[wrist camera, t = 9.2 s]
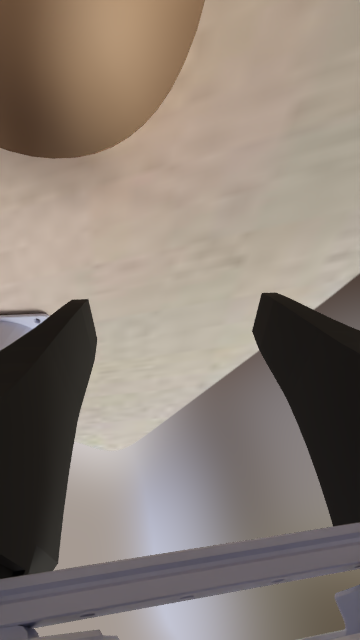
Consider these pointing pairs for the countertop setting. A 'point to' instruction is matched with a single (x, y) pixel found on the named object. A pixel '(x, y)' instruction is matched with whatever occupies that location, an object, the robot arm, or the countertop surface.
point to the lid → (87, 70)
